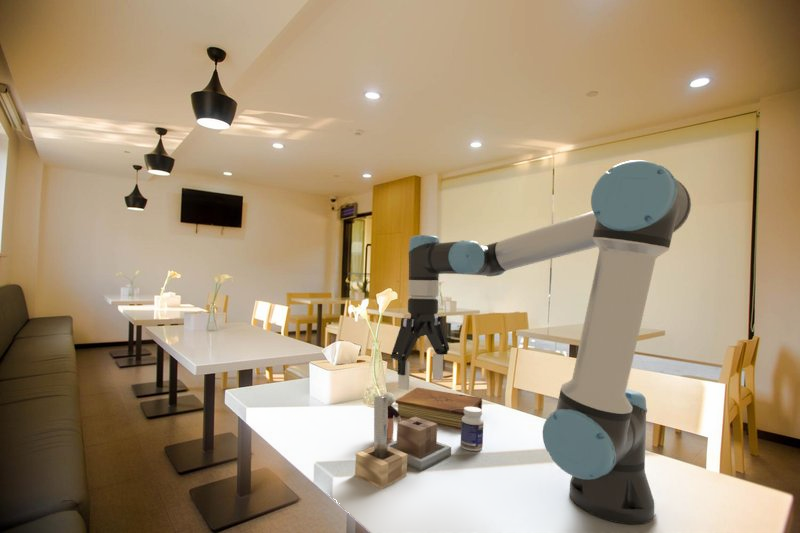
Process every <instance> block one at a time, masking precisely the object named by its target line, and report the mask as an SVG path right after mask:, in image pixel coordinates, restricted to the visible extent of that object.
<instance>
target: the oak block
mask: <svg viewBox="0 0 800 533" xmlns="http://www.w3.org/2000/svg"><path fill="white" fill-rule="evenodd" d="M407 472H408V465H407V454H406V453H403V452H401V451H398V450H396V449H394V448H391V447H389V446H388V458H386V459H384V460H381V459H378V458H376V457H374V446H371V447H369V448H366V449H363V450H361V451H358V452H356V453H355V467H354V476H355V477H357V478H359V479H361V480H362V481H363V480H364V481H365V482H367V483H369V484H371V485H373V486H375V487H377V488H379V489H381V490H382V489H384V488H386V487H388V486H390V485H392V484H394V483H395V482H398V481H399V480H401V479H403V478H405V477H407V475H408V474H407Z"/></svg>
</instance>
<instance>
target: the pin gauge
mask: <svg viewBox="0 0 800 533" xmlns="http://www.w3.org/2000/svg"><path fill="white" fill-rule="evenodd" d="M373 399H374V400H373V402H374V403H373V404H374V405H373V406H374V407H373V411H374V412H373V419H374V420H373V447H374V457H376V458H378V459H381V460H384V459H386V458H388V444H389V443H388V397H387V396H383V395H377V396H374V397H373Z"/></svg>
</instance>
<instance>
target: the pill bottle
mask: <svg viewBox="0 0 800 533" xmlns="http://www.w3.org/2000/svg"><path fill="white" fill-rule="evenodd" d="M464 414H465V415H464V416H463V417H462V421H461V430H460V447H461V448H462V449H463V450H466V451H469V452H480V451H481V450H482V449H483V448H484V447H483V443H484V442H483V441H484V419H483V417H482V414H483V409H482V410H481V409H480V408H477V407H465V408H464Z"/></svg>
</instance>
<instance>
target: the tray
mask: <svg viewBox="0 0 800 533" xmlns="http://www.w3.org/2000/svg"><path fill="white" fill-rule="evenodd" d="M388 446H389V447H391V448H394V449H396V448H397V440H394V441H393V442H392V443H388ZM396 450H397V449H396ZM398 451H399V450H398ZM401 452H402V451H401ZM403 453H404V452H403ZM406 454H407V453H406ZM450 456H452V446H450V445H446V444H444V443H441V442H439V441H437V443H436V452H434V453H432V454H430V455H428V456H426V457H424V458H422V459H419V458H417V457H414V456H412V455H409V454H407V466H409V467H411V468H412V469H413V468H414V469H416V470H418V471H419V472H420V471H421V472H422V471H424V470H425V469H428V468H429V467H432V466H433V465H435V464H437V463H439V462H441V461H443V460H444V459H446V458H448V457H450Z"/></svg>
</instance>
